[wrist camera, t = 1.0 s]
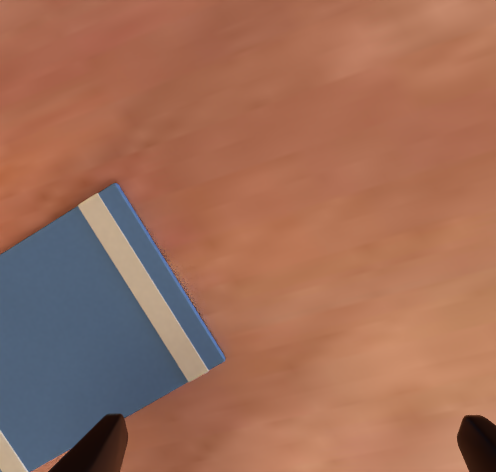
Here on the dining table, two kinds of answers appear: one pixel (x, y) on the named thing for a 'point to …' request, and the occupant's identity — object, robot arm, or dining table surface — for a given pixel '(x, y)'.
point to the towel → (89, 329)
